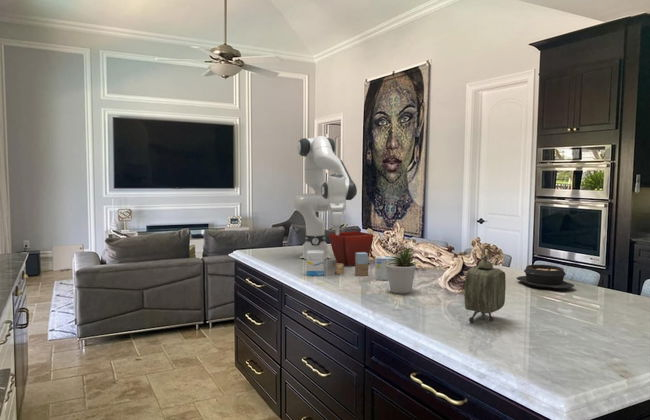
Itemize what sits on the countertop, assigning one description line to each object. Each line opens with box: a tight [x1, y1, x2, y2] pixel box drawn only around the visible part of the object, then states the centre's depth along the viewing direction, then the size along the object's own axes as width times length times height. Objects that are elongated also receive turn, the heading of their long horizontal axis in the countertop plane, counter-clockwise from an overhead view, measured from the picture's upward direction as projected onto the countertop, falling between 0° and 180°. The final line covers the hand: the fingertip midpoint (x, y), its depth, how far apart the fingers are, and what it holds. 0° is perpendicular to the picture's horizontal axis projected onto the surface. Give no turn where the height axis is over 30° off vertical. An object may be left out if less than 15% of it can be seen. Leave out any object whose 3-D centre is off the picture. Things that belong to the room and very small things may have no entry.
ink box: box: [306, 250, 325, 277], centre depth 239 cm, size 8×8×12 cm
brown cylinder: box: [334, 262, 345, 275], centre depth 241 cm, size 4×4×5 cm
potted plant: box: [386, 244, 419, 295], centre depth 203 cm, size 13×14×20 cm
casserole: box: [516, 264, 575, 290], centre depth 212 cm, size 25×19×8 cm
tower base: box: [354, 263, 369, 277], centre depth 238 cm, size 6×6×6 cm
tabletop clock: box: [463, 247, 507, 323], centre depth 162 cm, size 14×9×25 cm, turn 141°
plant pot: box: [328, 231, 374, 267], centre depth 268 cm, size 19×19×17 cm
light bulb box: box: [374, 255, 398, 281], centre depth 228 cm, size 11×7×11 cm, turn 84°
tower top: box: [355, 252, 369, 265], centre depth 237 cm, size 5×5×5 cm
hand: (337, 234), depth 240 cm, fingers open, 8 cm apart
